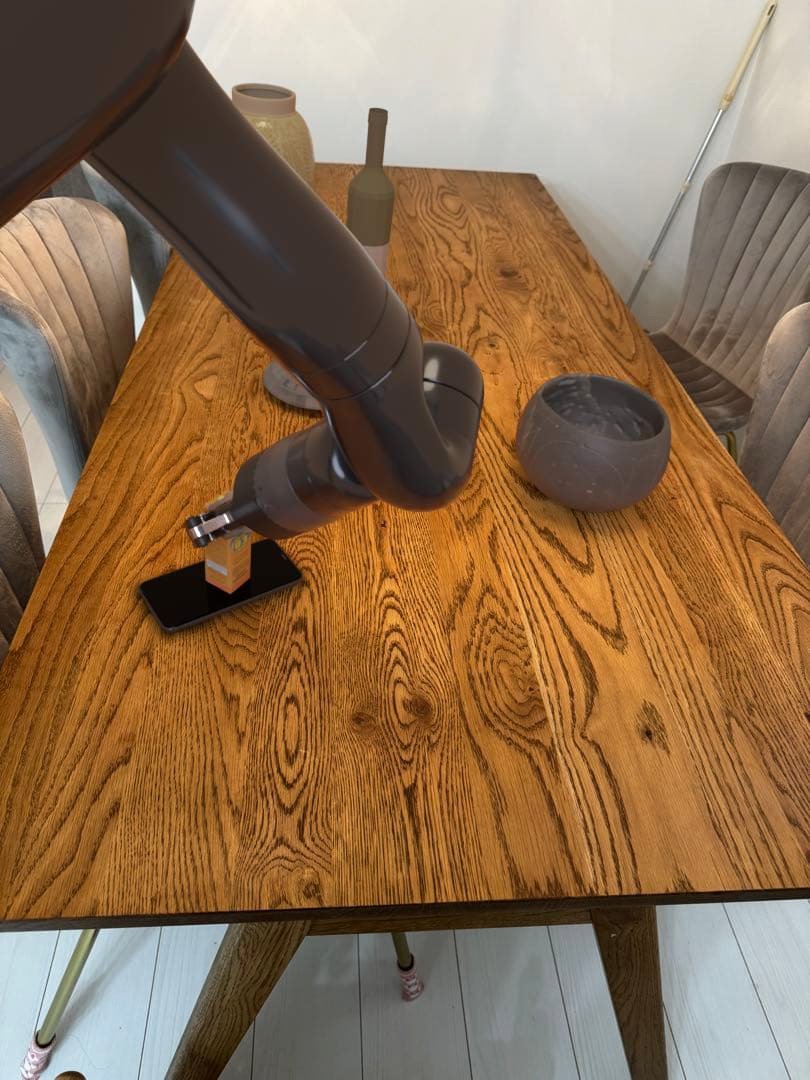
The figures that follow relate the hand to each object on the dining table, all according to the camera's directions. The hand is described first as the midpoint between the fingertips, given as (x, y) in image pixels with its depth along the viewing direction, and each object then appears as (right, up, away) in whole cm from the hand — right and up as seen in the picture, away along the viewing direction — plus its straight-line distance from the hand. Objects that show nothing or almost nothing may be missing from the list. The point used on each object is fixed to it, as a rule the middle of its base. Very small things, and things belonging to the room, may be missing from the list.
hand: (215, 523), depth 78 cm
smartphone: (0, -6, +3) cm, 7 cm away
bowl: (+39, +4, +23) cm, 46 cm away
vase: (-6, +46, +63) cm, 79 cm away
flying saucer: (+6, +19, +34) cm, 39 cm away
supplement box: (+1, -6, +3) cm, 7 cm away
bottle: (+11, +34, +53) cm, 64 cm away
